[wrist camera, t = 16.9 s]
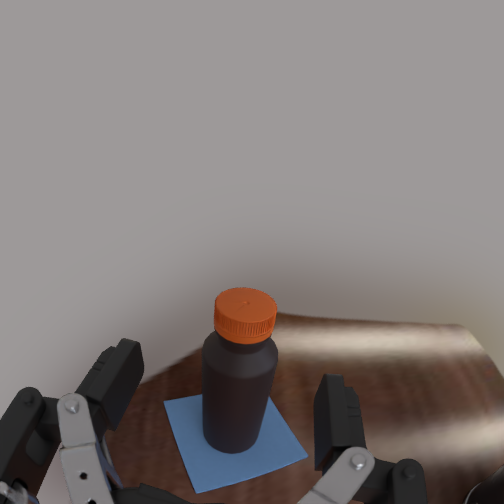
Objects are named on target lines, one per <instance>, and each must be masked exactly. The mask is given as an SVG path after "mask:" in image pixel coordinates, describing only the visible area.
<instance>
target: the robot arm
mask: <svg viewBox="0 0 504 504" xmlns="http://www.w3.org/2000/svg"><path fill="white" fill-rule="evenodd" d="M143 373H144V362H143V357H142V352H141V346H140V343H139V342H137V341H133V340H129V339H125V338H123V339H121V341H120V342H119V344H118V345H117V347H112V346H111V347H109V348H108V349H106V350H105V351H103V352H102V353H101V355H100V356H99V358H98V359H97V362H95V363H94V365H93V366H92V368H91V369H90V371H89V372H88V374H87V375H86V377H85V378H84V380H83V381H82V383H81V384H80V386H79V387H78V389H77V390H76V391H75V393H69V394H66V395H64V396H62V397H61V398H60V399H56V398H49V397H42V395H41V394H40V392H39V391H38V390H37V389H35V388H33V387H26V388H24V389H22V390H20V391H19V392H18V393H17V395H16V397H15V398H14V399H13V401H12V402H11V404H10V406H9V407H8V408H7V410H6V412H5V413H4V415H3V416H2V418H1V420H0V504H39V501H38V499H37V497H36V496H37V494H38V491H39V489H40V486H41V484H42V482H43V480H44V477H45V475H46V473H47V470H48V468H49V466H50V464H51V462H52V459H53V457H54V455H55V453H56V451H57V449H58V447H59V445H60V443H61V442H62V445H63V447H62V448H60V450H59V452H60V459H61V463H62V468H63V472H64V477H65V481H66V485H67V489H68V492H69V496H70V499H71V503H72V504H195V503H190V502H188V501H186V500H183V499H181V498H179V497H177V496H175V495H173V494H171V493H170V492H168V491H166V490H162V489H159V488H155V487H152V486H149V485H146V484H143V483H140V486H139V488H137V487H129V488H124V487H123V485H122V482H121V480H120V478H119V476H118V474H117V472H116V470H115V467H114V464H113V462H112V458H111V455H110V452H109V449H108V446H107V443H106V439H105V436H104V434H105V432H106V430H107V429H109V430H112V431H116V429H117V427H118V425H119V422H120V420H121V418H122V416H123V414H124V412H125V410H126V408H127V406H128V404H129V402H130V400H131V398H132V396H133V394H134V392H135V390H136V389H137V387H138V385H139V383H140V381H141V379H142V376H143ZM314 444H315V471H322V478H321V479H320V480H319V481H318V482H317V483H316V485H315V486H314V487H313V488H312V489H311V490H310V491H309V492H308V493H307V494H306V495H305V496H304V497H303V498H302V499H301V500H300V501H299V502H298V503H297V504H348V503H349V501H350V500H351V499H352V500H356V501H360V502H364V504H428V501H427V493H426V485H425V478H424V471H423V468H422V466H421V464H420V463H419V462H417V461H416V460H413V459H403V460H400V461H399V462H398V463H397V464H396V463H391V462H387V461H382V460H379V459H377V458H375V457H373V455H372V454H371V452H370V451H368V450H367V447H366V443H365V436H364V429H363V423H362V417H361V410H360V404H359V399H358V396H357V394H356V392H355V391H354V389H353V388H352V387H344V380H343V376H342V375H338V374H324V375H323V378H322V380H321V383H320V385H319V388H318V390H317V393H316V395H315V399H314ZM206 504H224V503H206ZM462 504H504V465H503V466H502V467H500V468H499V469H498V470H497V471H496V472H494V473H493V474H492V475H490V476H489V477H488V478H487V479H485V480H484V481H483V482H481V483H479V484H478V485H476V486H475V487H474V488H472V489H471V490H470V491H469V492H468V494H467V495H466V497H465V498H464V501H463V503H462Z"/></svg>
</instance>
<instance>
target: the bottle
mask: <svg viewBox="0 0 504 504" xmlns="http://www.w3.org/2000/svg"><path fill="white" fill-rule="evenodd" d="M214 311H215V312H214V329H215V331H214V332H212V333H211V334H210V335H209V336H208V337H207V338H206V339H205V341H204V344H203V348H202V418H203V434H204V437H205V439H206V441H207V442H208V444H209V445H210V446H212V447H213V448H214V449H215V450H218V451H220V452H222V453H228V454H236V453H241V452H244V451H246V450H248V449H249V448H251V447H252V446H253V445H254V444H255V442H256V440H257V438H258V436H259V432H260V428H261V425H262V421H263V417H264V413H265V410H266V406H267V402H268V398H269V394H270V390H271V387H272V383H273V379H274V374H275V370H276V366H277V362H278V349H277V347H276V345H275V342H274V341H273V340H272V339H271V338H270V337H271V335H272V332H273V328H274V323H275V318H276V312H277V306H276V303H275V301H274V300H273V299H272V298H271V297H270V296H269V295H267V294H266V293H264V292H262V291H259V290H256V289H251V288H233V289H228V290H226V291H224V292H222V293H221V294H220V295H219V296H217V298H216V300H215V310H214Z"/></svg>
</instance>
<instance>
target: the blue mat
mask: <svg viewBox="0 0 504 504" xmlns="http://www.w3.org/2000/svg"><path fill="white" fill-rule="evenodd" d="M164 405H165V408H166V412H167V415H168V418H169V421H170V424H171V427H172V431H173V434H174V437H175V439H176V442H177V445H178V448H179V451H180V454H181V456H182V459H183V462H184V465H185V467H186V470H187V472H188V475H189V478H190V480H191V482H192V485H193V487H194V490H195V492H196V493H201V492H205V491H209V490H213V489H217V488H221V487H224V486H228V485H232V484H235V483H238V482H242V481H245V480H248V479H251V478H254V477H257V476H260V475H263V474H266V473H268V472H271V471H274V470H277V469H279V468H282V467H284V466H287V465H289V464H292V463H294V462H297V461H299V460H301V459H304V458H306V457H308V455H307V453H306V452H305V450H304V449H303V447H302V446H301V445H300V443H299V442H298V440H297V439H296V437H295V436H294V434H293V433H292V431H291V430H290V428H289V427H288V425H287V424H286V422H285V421H284V419H283V418H282V416H281V414H280V413H279V411H278V410H277V408H276V407H275V405H274V404H273V402H272V400H271V399H270V397H269V398H268V402H267V406H266V410H265V413H264V417H263V421H262V425H261V428H260V432H259V436H258V438H257V440H256V442H255V444H254V445H253V446H252V447H251V448H249V449H248V450H246V451H244V452H241V453H236V454H228V453H222V452H220V451H218V450H215V449H214V448H213V447H212V446H210V445H209V444H208V442H207V441H206V439H205V437H204V434H203V418H202V394H201V395H196V396H191V397H186V398H180V399H174V400H169V401H164Z"/></svg>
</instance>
